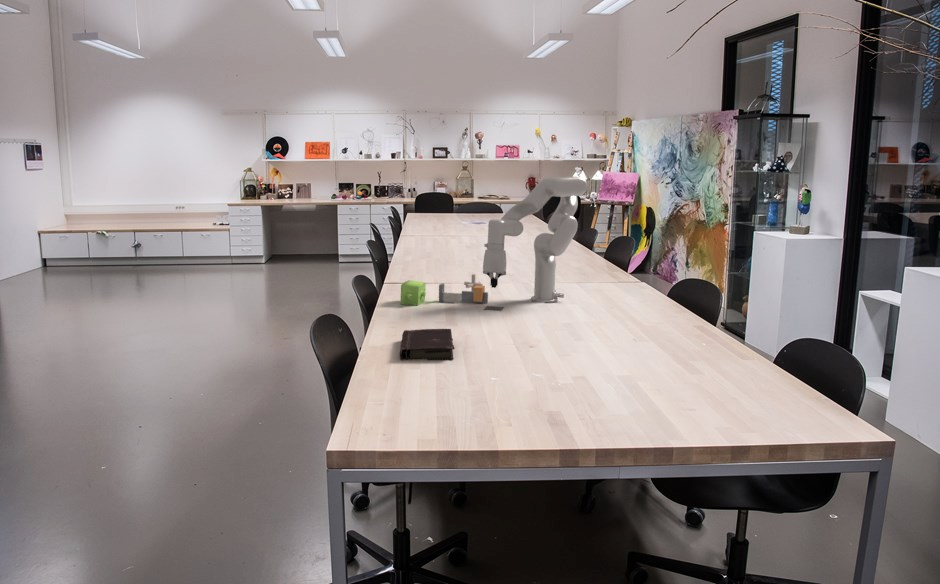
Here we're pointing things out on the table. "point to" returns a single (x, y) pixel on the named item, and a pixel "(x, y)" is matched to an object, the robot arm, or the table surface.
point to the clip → (478, 293)
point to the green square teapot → (413, 292)
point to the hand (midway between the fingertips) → (493, 287)
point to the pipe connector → (472, 283)
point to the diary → (427, 344)
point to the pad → (493, 308)
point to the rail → (464, 296)
